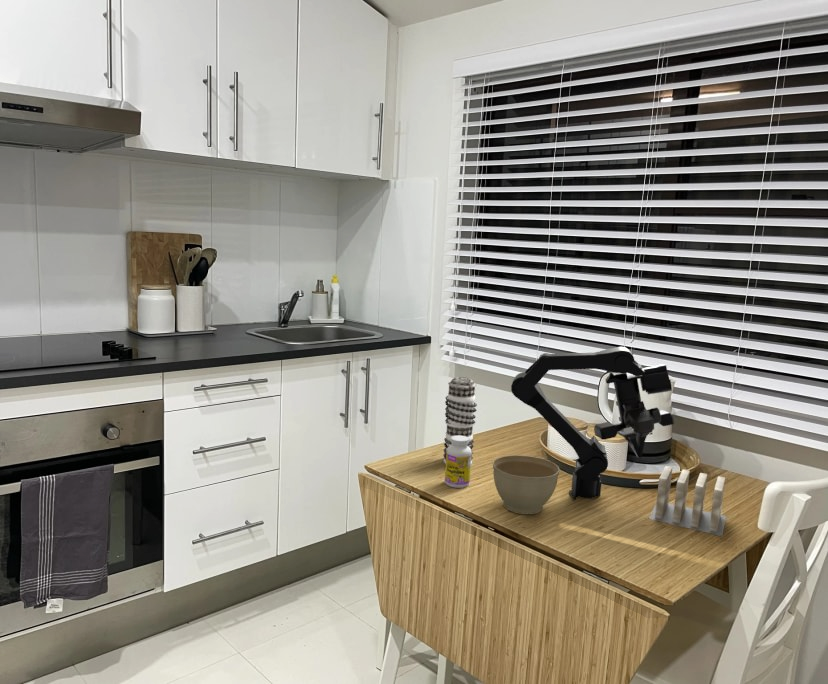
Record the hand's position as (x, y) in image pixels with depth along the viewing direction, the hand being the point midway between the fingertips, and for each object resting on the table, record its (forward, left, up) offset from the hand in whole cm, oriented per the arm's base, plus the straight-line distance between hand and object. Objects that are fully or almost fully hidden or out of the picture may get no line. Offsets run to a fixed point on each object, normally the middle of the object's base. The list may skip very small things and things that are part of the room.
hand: (639, 457), depth 165 cm
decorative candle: (-41, +31, -13) cm, 52 cm away
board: (+9, -10, -12) cm, 18 cm away
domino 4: (+14, -13, -12) cm, 22 cm away
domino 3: (+11, -11, -11) cm, 19 cm away
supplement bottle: (-44, +14, -13) cm, 47 cm away
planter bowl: (-30, -1, -13) cm, 32 cm away
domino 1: (+4, -6, -12) cm, 14 cm away
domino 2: (+7, -9, -11) cm, 16 cm away
